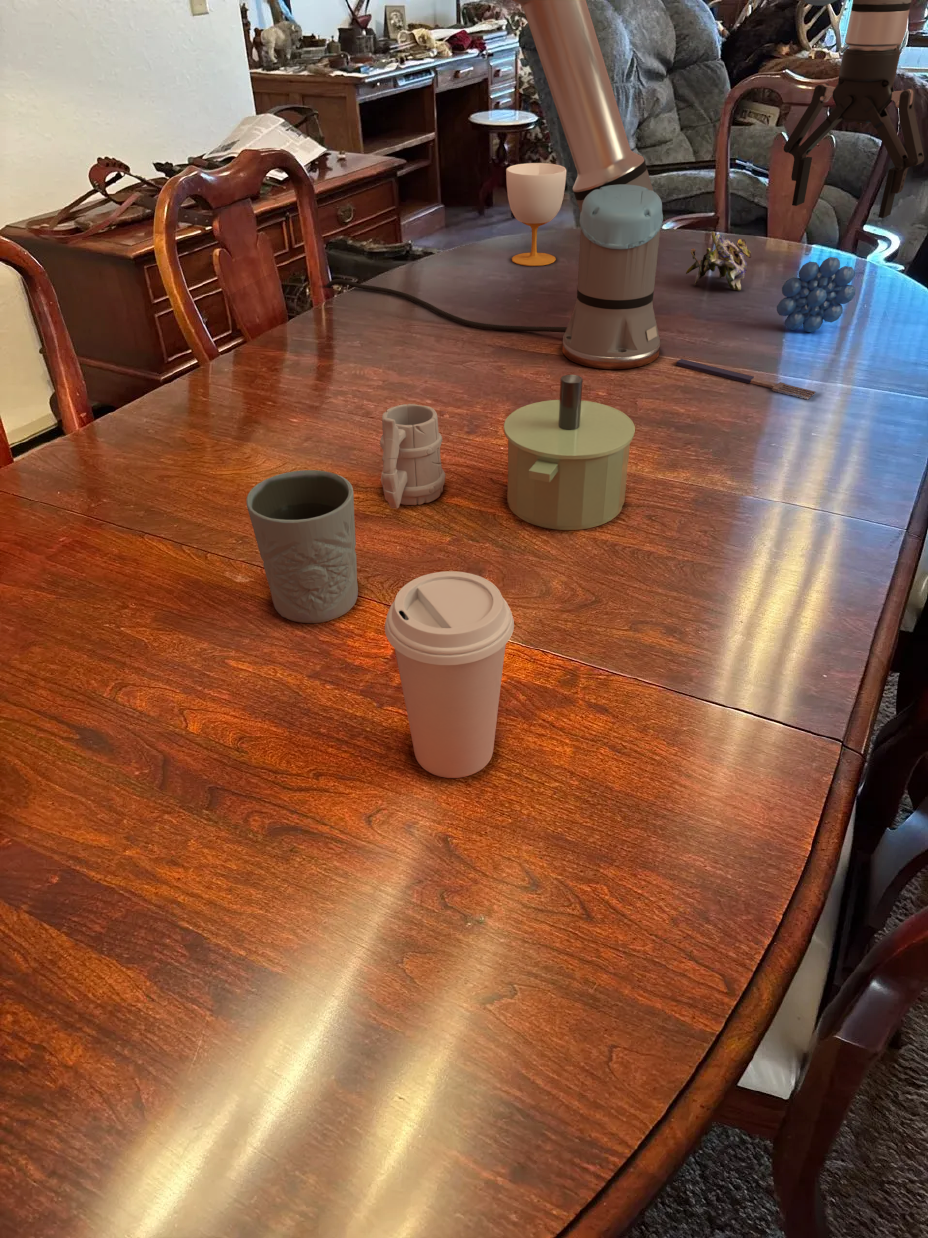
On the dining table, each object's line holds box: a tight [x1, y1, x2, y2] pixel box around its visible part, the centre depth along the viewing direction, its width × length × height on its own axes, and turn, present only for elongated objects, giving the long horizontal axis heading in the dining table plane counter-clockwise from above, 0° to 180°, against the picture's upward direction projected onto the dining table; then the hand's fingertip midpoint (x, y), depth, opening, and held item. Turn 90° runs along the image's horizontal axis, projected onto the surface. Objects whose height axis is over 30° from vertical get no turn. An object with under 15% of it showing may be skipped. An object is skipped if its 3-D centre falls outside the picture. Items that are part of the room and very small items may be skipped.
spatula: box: [675, 358, 816, 400], centre depth 136 cm, size 21×3×1 cm, turn 51°
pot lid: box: [503, 374, 636, 460], centre depth 102 cm, size 15×15×7 cm
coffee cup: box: [384, 570, 515, 779], centre depth 71 cm, size 10×10×15 cm
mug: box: [379, 403, 447, 510], centre depth 106 cm, size 8×12×12 cm, turn 162°
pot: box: [506, 439, 631, 531], centre depth 106 cm, size 14×19×9 cm
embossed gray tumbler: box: [245, 469, 359, 624], centre depth 90 cm, size 10×10×12 cm
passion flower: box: [685, 231, 752, 292], centre depth 170 cm, size 11×11×12 cm
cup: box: [505, 162, 567, 267], centre depth 184 cm, size 12×12×17 cm
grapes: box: [776, 256, 856, 333], centre depth 149 cm, size 12×7×12 cm, turn 80°
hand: (839, 210), depth 141 cm, fingers open, 13 cm apart
